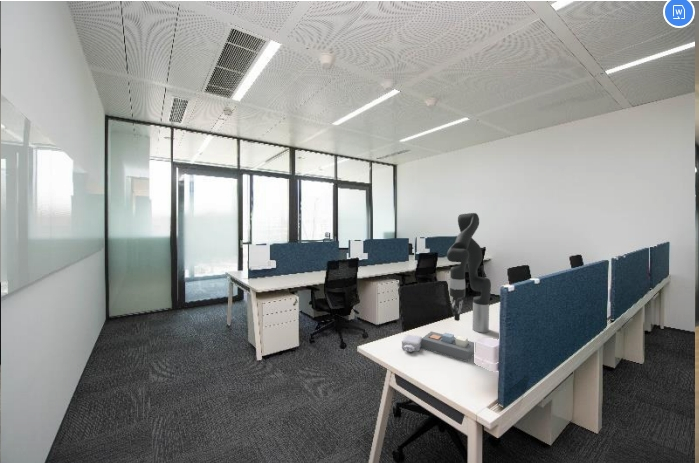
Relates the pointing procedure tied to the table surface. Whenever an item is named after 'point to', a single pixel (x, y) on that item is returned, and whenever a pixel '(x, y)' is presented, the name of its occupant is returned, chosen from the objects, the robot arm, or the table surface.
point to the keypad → (447, 347)
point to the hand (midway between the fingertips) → (457, 320)
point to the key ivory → (462, 341)
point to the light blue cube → (448, 338)
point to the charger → (411, 343)
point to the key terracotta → (435, 337)
